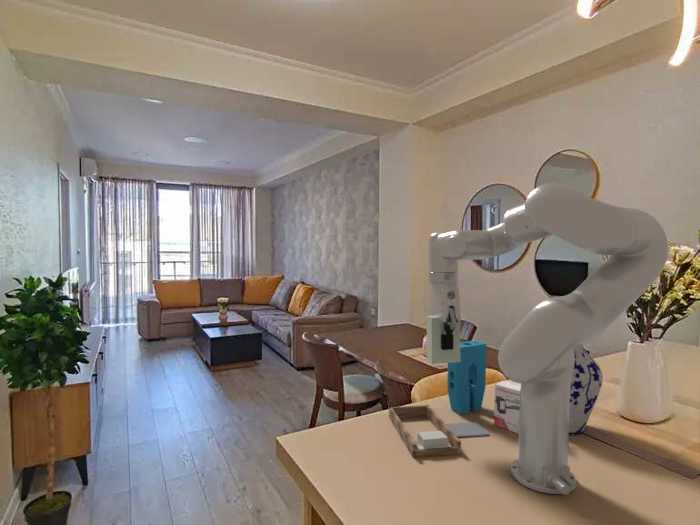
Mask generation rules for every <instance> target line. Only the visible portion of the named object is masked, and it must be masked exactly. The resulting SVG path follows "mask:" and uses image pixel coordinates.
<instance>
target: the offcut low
mask: <svg viewBox="0 0 700 525" xmlns="http://www.w3.org/2000/svg"><path fill="white" fill-rule="evenodd" d="M412 439H413V440H414V442H415V443H416V449H427V448H423V447H422V445H421V444H420V443H419V441H418V438H416V439H415V438H412ZM442 447H451V446H450V444H449V443H448V442H447V446H441V447H429V448H442Z"/></svg>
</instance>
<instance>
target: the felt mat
mask: <svg viewBox="0 0 700 525" xmlns="http://www.w3.org/2000/svg"><path fill="white" fill-rule="evenodd" d="M445 424H446V425H447V427H448V428H449V429H450V430H451V431H452V432H453V433H454V434H455V436H456V437H457V438H458V439H459V438H469V437H470V438H472V437H487V436H488V437H489V436H490V435H491V434H490V433H489V432H488V430H486V429H485V428H484V427H483V426H481V425H480V424H479V423H478V422H476V421H473V422H472V421H471V422H457V423H454V422H453V423H452V422H451V423H445Z"/></svg>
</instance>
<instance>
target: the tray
mask: <svg viewBox="0 0 700 525" xmlns="http://www.w3.org/2000/svg"><path fill="white" fill-rule="evenodd" d="M425 417H426V418H427V419H428V421H429V422H431V424H432V425H433V426H434V428H435V429H436V431H442V432H443V434H444V435H445V436H446V437H447V442H448V443H449V444H450V446H451V447H442V448H427V449H416V443H415V442H414V440H413V439H414V438H413V437H412V436H411V434H410V433H409V430H408V429H407V428H406V426H405V425H404V424H403V422H402V420H401V419H406V418H407V419H409V418H425ZM388 418H389V420H390V422H391V424H392V425H393V427H394V428H395V430H396V432H397V434H399V437H400V438H401V440H402V441H403V443H404V445H405V447H406V449H407V450H408V452H409V454H410V455H411V457H412V458H425V457H427V458H428V457H437V456H438V457H439V456H440V457H441V456H451V455H454V456H455V455H461V454H462V441H461V440H460V439H459V438H457V437H456V436H455V434H454V433H453V432H452V431H451V430H450V429H449V428H448V427H447V425H446V424H447V423H445V422H444V421H443V420H442V419H441V418H440V416H439V415H438V414H437V413H436V412H435V411H434V409H432V407H430V405H429V404H427V405H408V406H407V405H405V406H390V407H389V408H388Z"/></svg>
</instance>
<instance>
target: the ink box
mask: <svg viewBox="0 0 700 525" xmlns="http://www.w3.org/2000/svg"><path fill="white" fill-rule="evenodd" d="M520 389H521V383H517V382H514V381H509V380H508V381H507V380H500V381H499V382H497V383H494V411H493V415H494V416H493V418H494V420H493V425H494V426H496V427H499V428H501V429H505V430H507V431H511V432H513V433H515V434H519V411H520Z"/></svg>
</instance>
